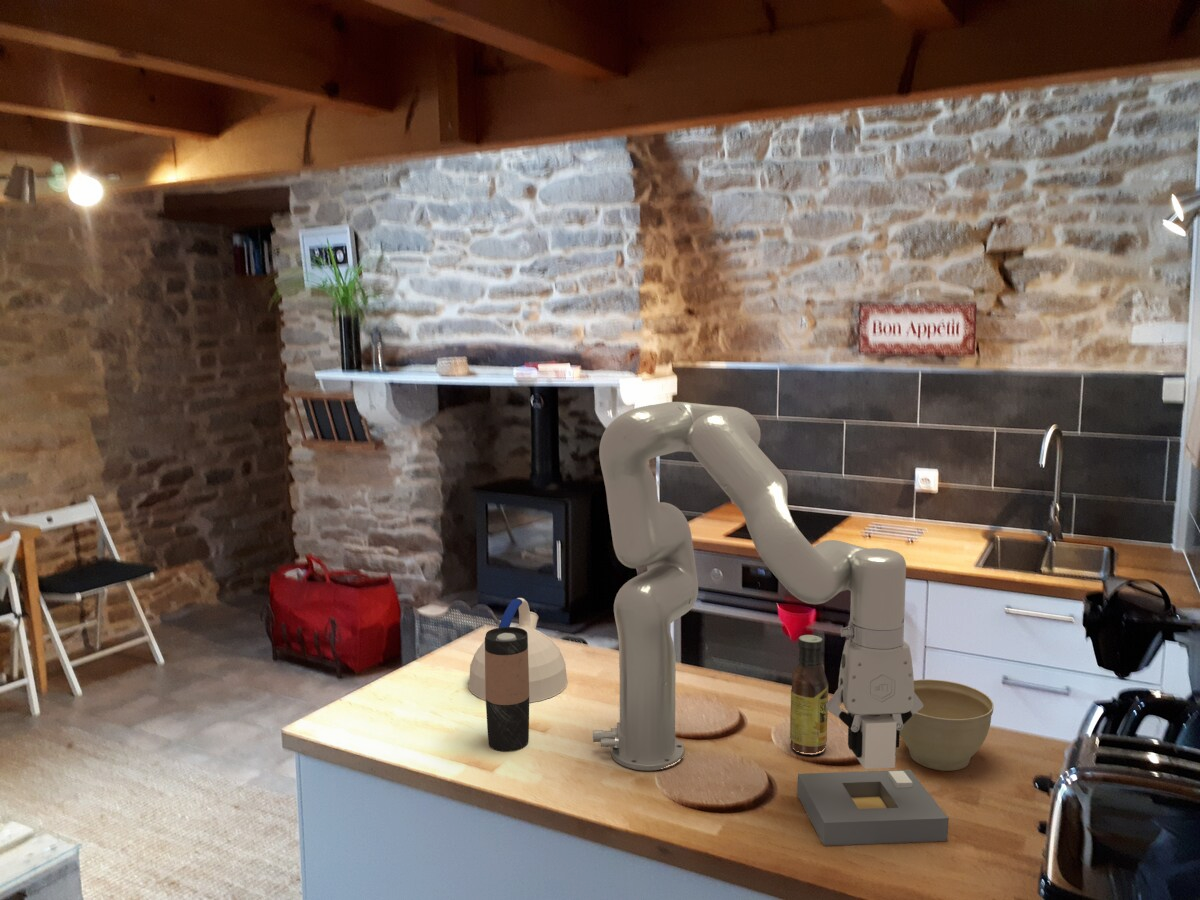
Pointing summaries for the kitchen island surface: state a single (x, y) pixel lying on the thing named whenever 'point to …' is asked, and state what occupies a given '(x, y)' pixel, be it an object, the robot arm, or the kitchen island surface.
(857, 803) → the socket
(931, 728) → the planter bowl
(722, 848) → the kitchen island surface
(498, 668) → the travel mug
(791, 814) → the kitchen island surface
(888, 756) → the plug
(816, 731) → the sauce bottle
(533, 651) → the kettle
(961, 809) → the kitchen island surface
